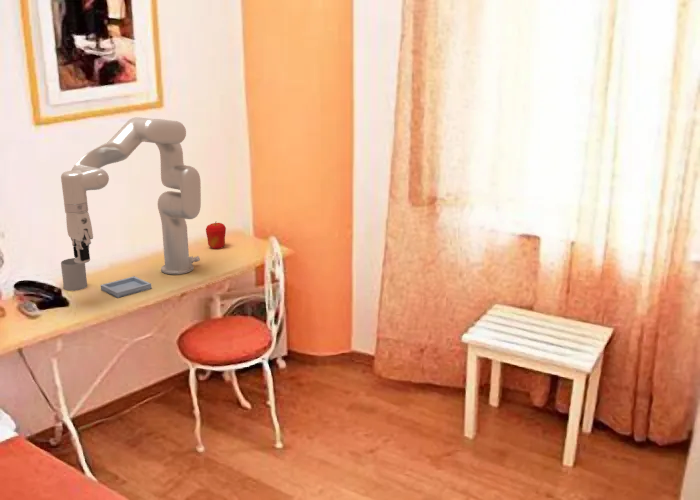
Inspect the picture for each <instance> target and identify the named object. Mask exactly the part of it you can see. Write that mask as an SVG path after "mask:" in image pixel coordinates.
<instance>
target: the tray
mask: <svg viewBox="0 0 700 500" xmlns="http://www.w3.org/2000/svg"><path fill="white" fill-rule="evenodd" d="M151 289H153V288H152V283H150V282H148V281H146V280H144V279H142V278H139V277H137V276H130V277H126V278H122V279H119V280H114V281H110V282H108V283H107V282H106V283H103V284H100V291H102V292H104V293H106V294H108V295H109V296H110V295H111V296H112V297H114V298H116V299H119V298H122V297H126V296H131V295H133V294H137V293H141V291H142V292H144V291H148V290H151Z"/></svg>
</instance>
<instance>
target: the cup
mask: <svg viewBox="0 0 700 500" xmlns="http://www.w3.org/2000/svg"><path fill="white" fill-rule="evenodd" d="M74 259H75V257H71V258H67V259H64V260H62V261H60V267H61V274H62V276H61V277H62V285H63V290H65V291H69V292H71V291H72V292H73V291H74V292H76V291H82V290H84V289H86V288H88V280H87V270H86V263H75V262H74Z"/></svg>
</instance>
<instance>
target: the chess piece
mask: <svg viewBox="0 0 700 500" xmlns="http://www.w3.org/2000/svg"><path fill="white" fill-rule="evenodd" d="M83 240H85V238H83ZM75 243H76V244H77V245H76V250H77V253H78V257H77V258H75V257H74V258H75V259H74V262H75V263H85V264H86V263H89V262H90V261H91V258H90V259H88V260H84V261H81V259H80V251H79V250H80V244H79V241H78V240H75ZM83 243H85V242H82V244H83Z"/></svg>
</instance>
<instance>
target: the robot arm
mask: <svg viewBox="0 0 700 500" xmlns="http://www.w3.org/2000/svg"><path fill="white" fill-rule="evenodd" d="M186 136H187V130H186V127H185V125H184V124H183V123H182V122H180V121H177V120H168V119H163V118H162V119H161V118H148V117H147V118H146V117H138V116H137V117H132V118H130V119H129V120H127V121H126V122H125V124H124V125H123V126H122V127H121V128H120V129H118V131H117V132H116V133H115V134H114V135H113V136H112V137H111V138H110V139H109V140H108V141H107V142H106V143H104V144H101V145H99V146H97V147H96V148H93V149H92V150H90V151H88V152H87V153H86V154H84V155H83V156H82V157H81V158H80V159H79V160H78V161H77V162H76V163H75V164H74V165H73V167H72V169H71V170H67V171H64V172H62V173H61V176H60V181H61V187H62V188H61V189H62V196H63V205H64V214H65V215H66V218H65V219H66V230H67V236H68V237H69V238H70V240H71V243H72V249H73V256H74V257H73V258H77V257H78V253H77V250H76V245H77V244H76V243H75V240H78V241H79V244H80V250H79V251H80V259H81V261H84V260H88V259H90V260H91V256H90V255H91V254H90V245H91V244H92V240H93V239H94V233H93V227H92V221H91V217H90V214H89V205H88V196H87V191H97V190H101V189H104V188H106V186H108V183H109V180H110V177H109V174H108V173H107V171H106V170H105V169H103V167H104V166H107V165H110V164H114V163H115V164H116V163H118V162H122V161H124V160H127V159H128V158H129V156H130V155H132V154H133V152H134V151H135V150H136V149H137V148H138V147H139V146H140V145H141V144H142V143H144V142H145V143H152V144H155V145H156V146H157V149H158V150H159V155H160V180H161V181H160V182H161V183H162V185H163V186H164V187H166V188H169V189H172V190H173V189H174V190H179V192H178V191H172V190H171V191H170V190H169V191H164V192H162V193H161V194H160V196H159V197H158V200H157V209H158V213H159V217H160V221H161V231H162V243H163V244H162V245H163V259H164V265H162V266H161V268H160V270H161V273H162V274H166V275H183V274H188V273H190V272H192V271H193V270H194V262H195V263H196V262H199V261H200V260H201V259H200V256H198V255H197V256H194V257H193V255H192V256H190V251H189V238H188V226H187V225H188V224H187V221H186V220H193V219H195V218H197V217H198V215H199V213H200V211H201V203H202V202H201V201H202V199H201V198H202V197H201V193H202V192H201V191H202V189H201V188H202V187H201V177H200V173H199V171H198V169H196V168H195V167H193V166H190V165H185V163H184V152H183V148H182V144H181V143H182V142H184V140H185V139H186ZM83 238H85V240H83ZM82 242H85V243H83V244H82Z"/></svg>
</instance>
